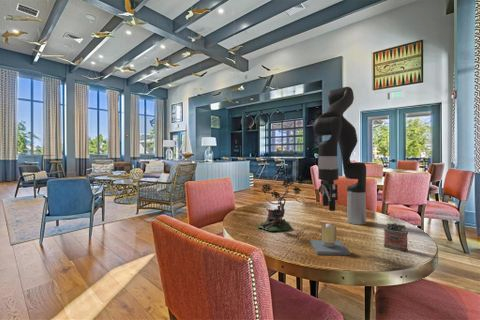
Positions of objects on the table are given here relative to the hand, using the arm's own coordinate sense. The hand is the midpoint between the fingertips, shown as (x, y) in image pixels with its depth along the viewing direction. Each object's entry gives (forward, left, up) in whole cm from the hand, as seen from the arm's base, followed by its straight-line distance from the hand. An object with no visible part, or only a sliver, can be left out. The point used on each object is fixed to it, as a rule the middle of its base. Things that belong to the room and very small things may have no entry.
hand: (328, 208), depth 93 cm
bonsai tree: (-31, -15, -17) cm, 38 cm away
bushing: (0, 0, -13) cm, 13 cm away
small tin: (-1, +26, -17) cm, 31 cm away
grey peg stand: (0, 0, -16) cm, 16 cm away
